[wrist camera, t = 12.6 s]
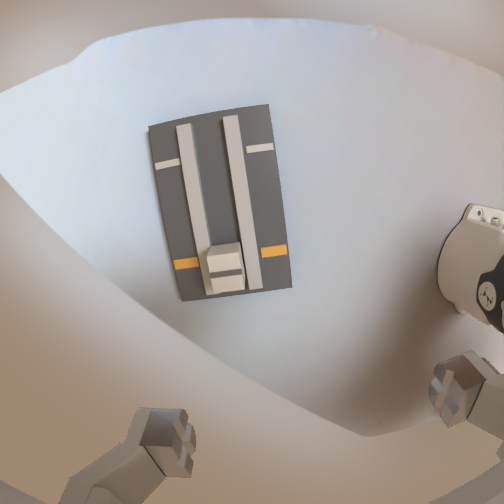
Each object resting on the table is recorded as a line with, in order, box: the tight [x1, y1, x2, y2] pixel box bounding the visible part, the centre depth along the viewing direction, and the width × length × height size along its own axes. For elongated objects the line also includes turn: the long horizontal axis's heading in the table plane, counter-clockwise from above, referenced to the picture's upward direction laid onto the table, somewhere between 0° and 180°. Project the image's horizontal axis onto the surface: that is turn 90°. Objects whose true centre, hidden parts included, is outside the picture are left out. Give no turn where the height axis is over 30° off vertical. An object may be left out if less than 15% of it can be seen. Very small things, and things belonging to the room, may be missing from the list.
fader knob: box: [207, 242, 245, 293], centre depth 32 cm, size 3×4×5 cm
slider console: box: [148, 104, 292, 301], centre depth 34 cm, size 14×22×3 cm, turn 8°
